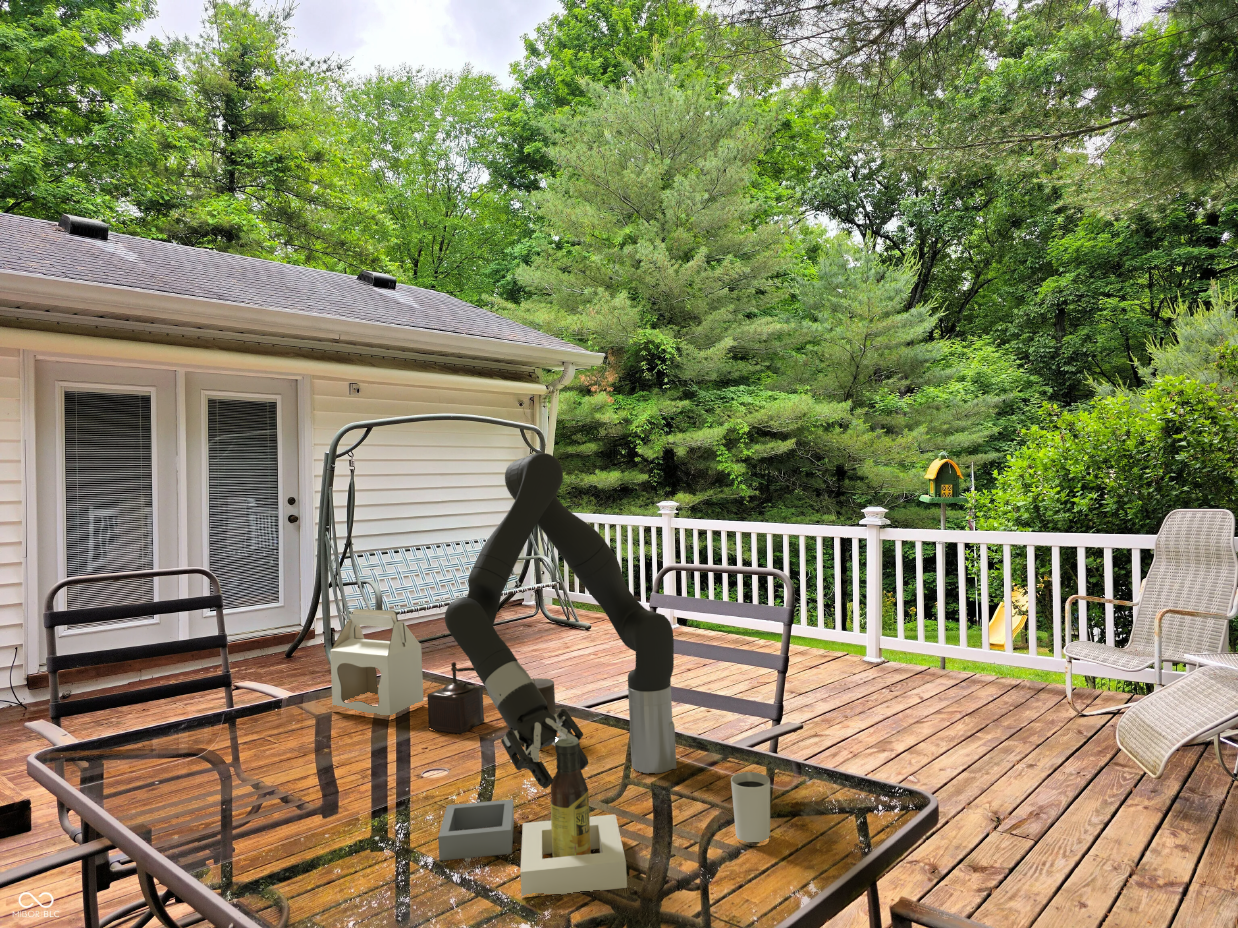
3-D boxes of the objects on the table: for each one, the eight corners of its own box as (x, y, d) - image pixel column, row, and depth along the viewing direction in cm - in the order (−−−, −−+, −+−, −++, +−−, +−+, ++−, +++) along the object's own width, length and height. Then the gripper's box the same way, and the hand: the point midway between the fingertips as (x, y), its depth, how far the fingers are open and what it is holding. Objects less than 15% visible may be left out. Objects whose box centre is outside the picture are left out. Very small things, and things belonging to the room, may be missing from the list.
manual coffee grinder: (462, 735, 186) (459, 663, 186) (427, 730, 191) (424, 660, 191) (498, 716, 200) (495, 648, 200) (465, 712, 205) (462, 646, 205)
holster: (514, 820, 139) (513, 799, 139) (511, 853, 127) (510, 829, 127) (448, 827, 137) (447, 805, 137) (439, 860, 125) (438, 836, 125)
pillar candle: (540, 749, 174) (537, 685, 174) (508, 743, 179) (505, 680, 179) (565, 736, 182) (562, 674, 182) (533, 730, 187) (530, 670, 188)
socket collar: (616, 837, 131) (615, 814, 131) (627, 887, 115) (625, 861, 115) (523, 846, 129) (522, 822, 129) (521, 898, 113) (520, 871, 113)
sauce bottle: (585, 876, 118) (580, 750, 118) (547, 874, 119) (542, 749, 120) (595, 855, 125) (590, 735, 125) (559, 853, 126) (554, 734, 126)
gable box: (331, 712, 211) (327, 612, 211) (367, 698, 222) (363, 604, 223) (391, 721, 200) (386, 616, 201) (424, 706, 212) (420, 607, 213)
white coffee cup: (749, 852, 123) (746, 791, 124) (725, 835, 129) (722, 777, 130) (781, 841, 127) (778, 781, 127) (756, 825, 132) (753, 768, 133)
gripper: (493, 692, 122) (547, 778, 115) (554, 671, 133) (607, 748, 126) (473, 719, 126) (525, 804, 118) (534, 697, 137) (584, 773, 129)
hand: (567, 775), depth 122 cm, fingers open, 8 cm apart
